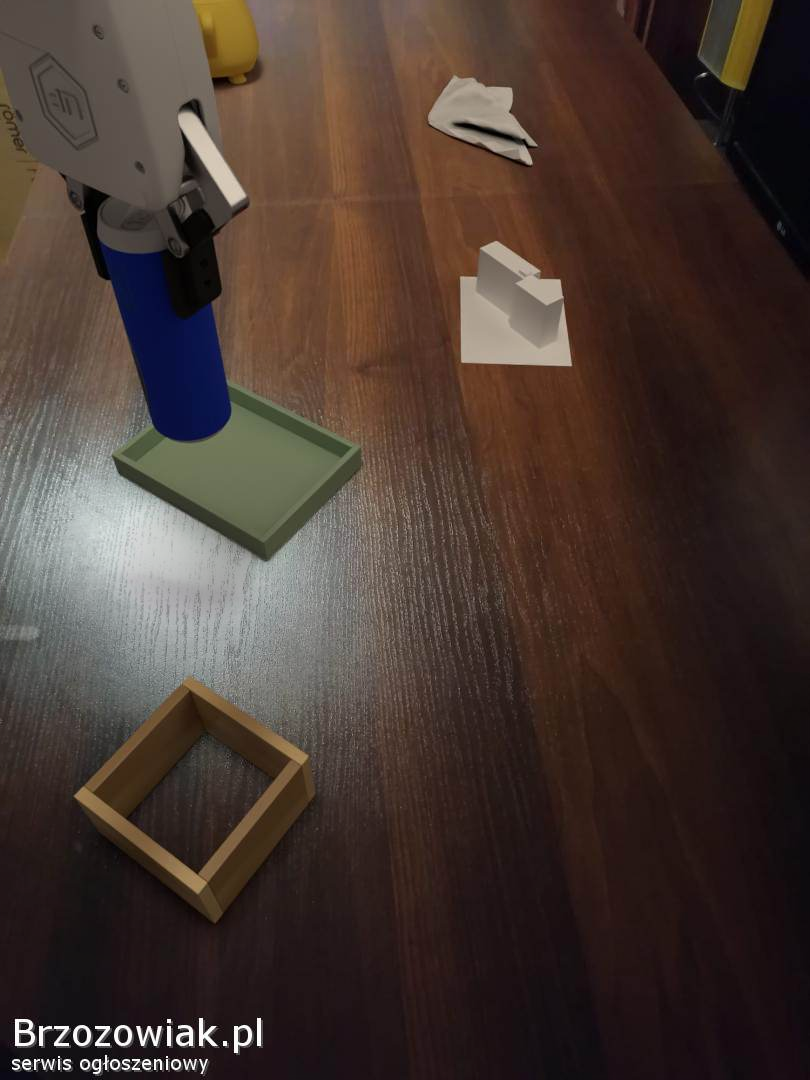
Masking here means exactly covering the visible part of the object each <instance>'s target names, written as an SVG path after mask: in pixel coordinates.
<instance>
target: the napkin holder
mask: <svg viewBox="0 0 810 1080" xmlns="http://www.w3.org/2000/svg"><path fill="white" fill-rule="evenodd" d="M478 250H479V251H478V261H477V273H476V274H477V275H476V276H461V275H460V276H459V283H460V284H459V286H460V287H459V289H460V297H459V298H460V363H461V364H486V365H487V364H488V365H489V364H490V365H493V364H494V365H520V366H521V365H522V366H523V365H524V366H552V367H573V364H572V363H573V362H572V357H571V347H570V342H569V334H568V325H567V319H566V311H565V310H566V309H565V303H564V299H565V296H563V290H562V289H563V288H562V281H561V279H560V278H559V279H556V278H541V272H542V270H540V269H539V268H537V267H536V266H535V265H533V264H531V263H529V261H527V260H526V259H524V258H522V257H521V256H520V255H519V254H517V253H515V252H514V251H513V250H511V249H510V248H508V247H507V246H505V245H503V244H502V243H501V242H499V241H497V240H495V241H492V242H490V243H488V244H486V245H483V246H481V247H479V249H478Z"/></svg>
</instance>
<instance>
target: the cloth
mask: <svg viewBox="0 0 810 1080" xmlns="http://www.w3.org/2000/svg"><path fill="white" fill-rule="evenodd" d="M513 99H514V94H513V88H512V87H505V86H485V85H484V84H483V83H481V82H478V81H477V80H476V78H474V77H466V78H460V77H459V76H457V75H455V74H454V75H453V76H452V78H451V79H450V81H449V82H448V84H447V85H446V86H445V87H444V88H443V90H442V92H441V93H440V95H439V96H438V98H437V99H436V101H435V102H434V104H433V106H432V107H431V109H430V112H429V113H428V114H427V119H428V124H429V125H430V126H431V127H433V128H434V129H437V130H439V131H441V132H443V133H445V134H447V135H449V136H451V137H453V138H457V139H458V140H461V141H464V142H466V143H470V144H472V145H474V146H478V147H481V148H484V149H486V150H489V151H491V152H494V153H496V154H499V155H501V156H504V157H506V158H509V159H511V160H514V161H516V162H519V163H521V164H524V165H527V166H529V167H530V166H533V164H534V163H533V160H532V157H531V155H530V152H529V150H528V148H527V146H526V144H527V145H528V146H529V147H537V148H538V147H539V145H538V144H537V143H536V142H535V141H534V140H533V139H532V138H531V136H530V135H529V134H528V133H527V132H526V130H525V129H524V128H523V127H522V126H521V124H520V122H519V121H518V120H517V119H516V116H514V115H513V114H512V113H510V110H512V106H513ZM523 140H524V141H525V143H526V144H525V143H524V141H523Z"/></svg>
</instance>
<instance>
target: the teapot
mask: <svg viewBox="0 0 810 1080" xmlns="http://www.w3.org/2000/svg"><path fill="white" fill-rule="evenodd" d="M192 1H193V4H194V8H195V12H196V15H197V19H198V23H199V27H200V31H201V34H202V38H203V43H204V47H205V51H206V55H207V59H208V64H209V68H210V73H211V78H216V79H217V78H225V77H226V78H228V81H229V83H231V84H235V85H241V84H244V83H246V81H247V77H246V76H245V73H249V72H250V71H251V70H252V69H253V68H254V67H255V64H256V62H257V58H258V57H259V51H260V42H259V36H258V32H257V31H258V30H257V28H256V25H255V21H254V18H253V16H252V13H251V11H250V8H249V6H248V4H247V3H246V0H192Z"/></svg>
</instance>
